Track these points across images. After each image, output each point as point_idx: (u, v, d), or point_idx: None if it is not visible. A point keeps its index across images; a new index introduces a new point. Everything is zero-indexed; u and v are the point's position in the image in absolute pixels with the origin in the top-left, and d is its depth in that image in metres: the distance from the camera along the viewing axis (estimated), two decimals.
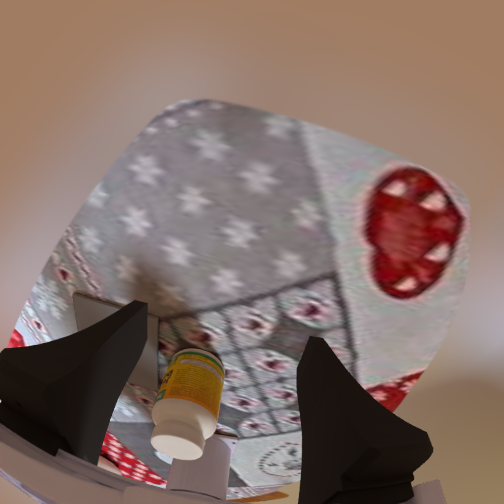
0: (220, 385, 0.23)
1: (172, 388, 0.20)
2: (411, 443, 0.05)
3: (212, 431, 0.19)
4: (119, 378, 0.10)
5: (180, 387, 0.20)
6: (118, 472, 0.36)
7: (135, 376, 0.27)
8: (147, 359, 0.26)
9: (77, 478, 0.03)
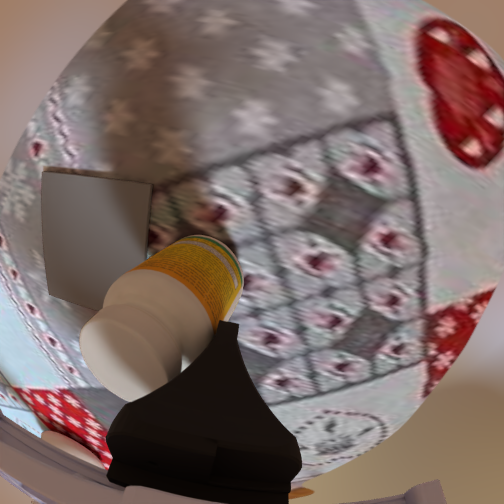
0: (232, 286, 0.15)
1: (145, 262, 0.12)
2: (257, 444, 0.05)
3: (202, 351, 0.11)
4: None
5: (158, 260, 0.12)
6: (99, 464, 0.28)
7: None
8: (131, 264, 0.18)
9: (77, 478, 0.03)
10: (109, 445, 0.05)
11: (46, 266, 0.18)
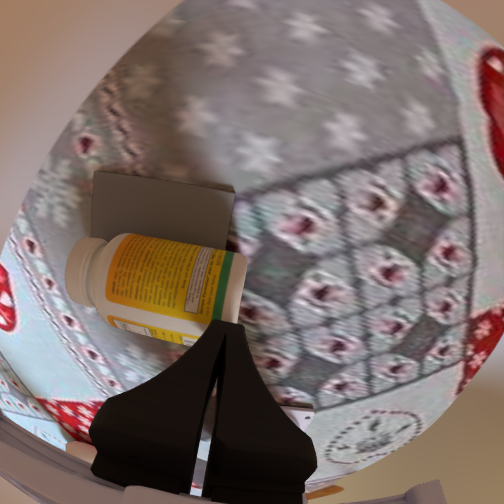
0: (178, 303, 0.13)
1: None
2: (275, 446, 0.05)
3: (94, 298, 0.13)
4: (207, 402, 0.10)
5: (150, 237, 0.15)
6: None
7: None
8: None
9: (77, 478, 0.03)
10: (92, 438, 0.05)
11: None
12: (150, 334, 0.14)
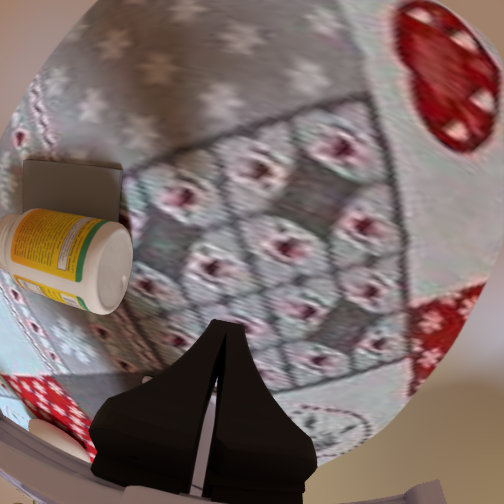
0: (53, 261, 0.12)
1: (56, 211, 0.15)
2: (275, 446, 0.05)
3: (6, 260, 0.13)
4: (207, 402, 0.10)
5: (51, 210, 0.15)
6: (84, 454, 0.28)
7: None
8: None
9: (77, 478, 0.03)
10: (92, 438, 0.05)
11: None
12: (42, 292, 0.13)
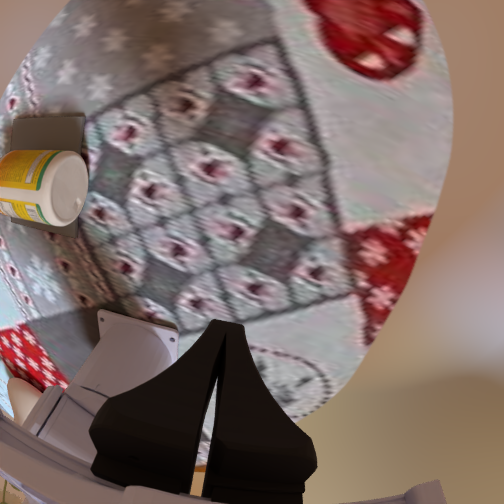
0: (23, 178, 0.14)
1: None
2: (275, 446, 0.05)
3: None
4: (207, 402, 0.10)
5: None
6: None
7: None
8: None
9: (77, 478, 0.03)
10: (92, 438, 0.05)
11: None
12: (13, 209, 0.15)
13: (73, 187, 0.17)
